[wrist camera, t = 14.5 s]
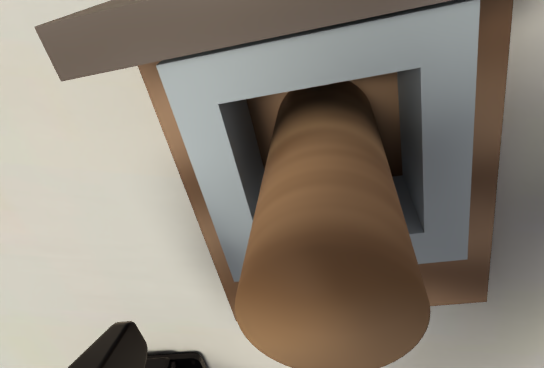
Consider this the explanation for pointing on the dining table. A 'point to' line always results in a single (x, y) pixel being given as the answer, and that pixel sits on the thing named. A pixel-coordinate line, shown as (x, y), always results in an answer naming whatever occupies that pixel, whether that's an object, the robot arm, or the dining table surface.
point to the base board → (263, 110)
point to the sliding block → (332, 69)
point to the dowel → (330, 242)
